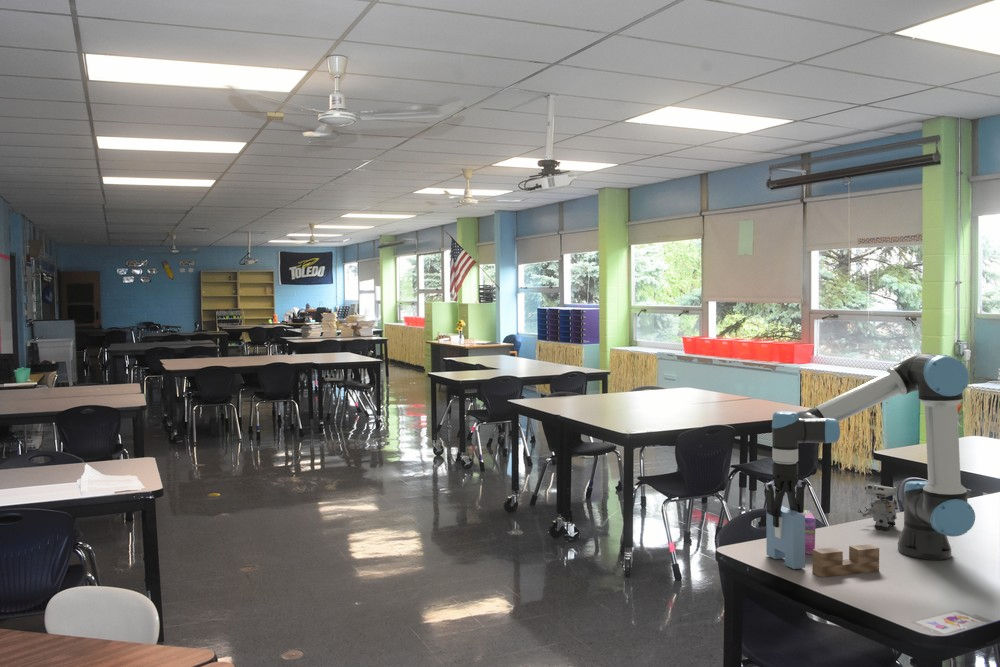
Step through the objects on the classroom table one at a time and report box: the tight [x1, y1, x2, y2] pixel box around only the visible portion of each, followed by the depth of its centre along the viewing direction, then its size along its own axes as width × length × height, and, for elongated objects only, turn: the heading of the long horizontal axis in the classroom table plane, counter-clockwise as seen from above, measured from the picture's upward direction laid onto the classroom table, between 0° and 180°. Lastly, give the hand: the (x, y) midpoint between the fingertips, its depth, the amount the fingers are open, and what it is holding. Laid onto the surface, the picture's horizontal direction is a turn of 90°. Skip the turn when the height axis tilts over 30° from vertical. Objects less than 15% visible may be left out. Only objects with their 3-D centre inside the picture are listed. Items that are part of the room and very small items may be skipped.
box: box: [801, 509, 817, 555], centre depth 250 cm, size 10×6×12 cm, turn 168°
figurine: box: [857, 483, 899, 532], centre depth 276 cm, size 9×12×15 cm
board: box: [765, 504, 806, 570], centre depth 237 cm, size 14×4×16 cm, turn 14°
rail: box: [811, 543, 880, 578], centre depth 228 cm, size 20×4×7 cm, turn 104°
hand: (785, 536), depth 237 cm, fingers closed on board, 4 cm apart
